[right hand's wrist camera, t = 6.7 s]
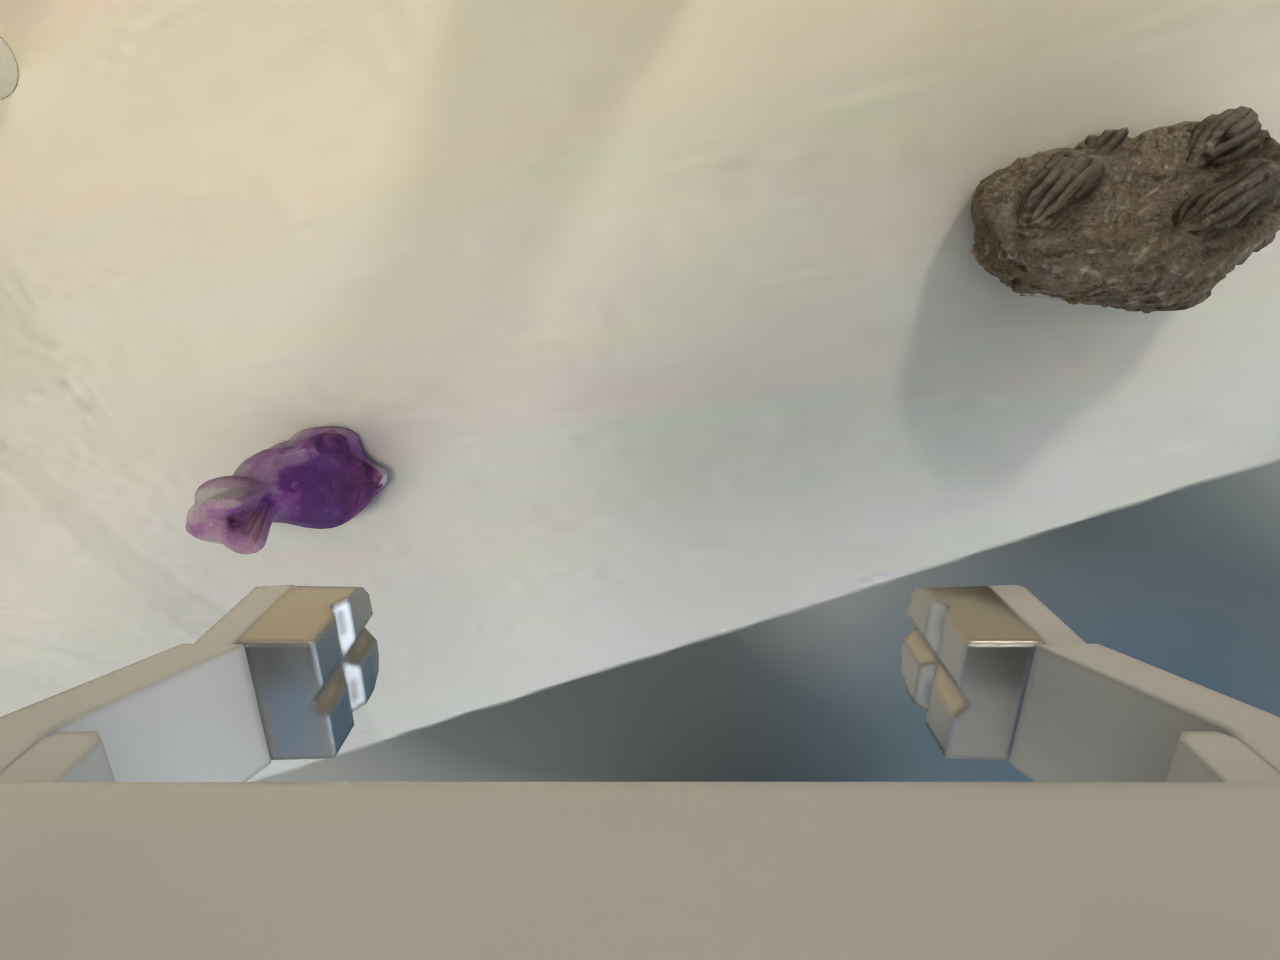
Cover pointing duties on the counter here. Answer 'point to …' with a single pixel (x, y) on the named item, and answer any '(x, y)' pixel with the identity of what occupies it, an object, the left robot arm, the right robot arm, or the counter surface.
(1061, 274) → the fossil
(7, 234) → the counter surface
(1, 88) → the bottle
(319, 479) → the figurine
